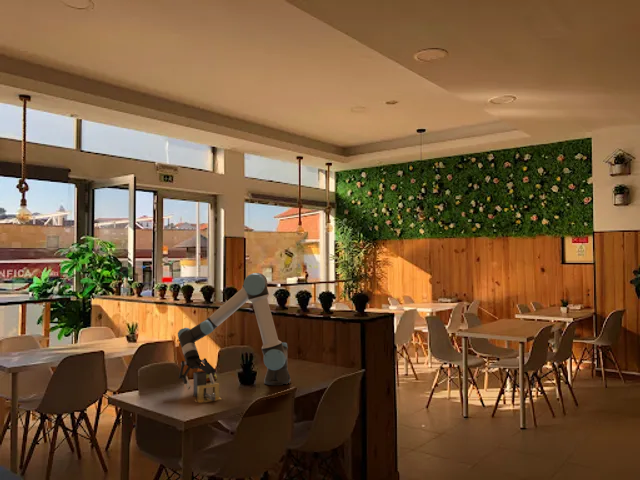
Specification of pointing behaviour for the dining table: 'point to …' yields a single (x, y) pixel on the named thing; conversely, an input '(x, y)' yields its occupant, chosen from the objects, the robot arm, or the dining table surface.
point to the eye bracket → (201, 392)
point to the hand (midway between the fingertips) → (201, 386)
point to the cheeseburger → (207, 375)
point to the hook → (201, 380)
